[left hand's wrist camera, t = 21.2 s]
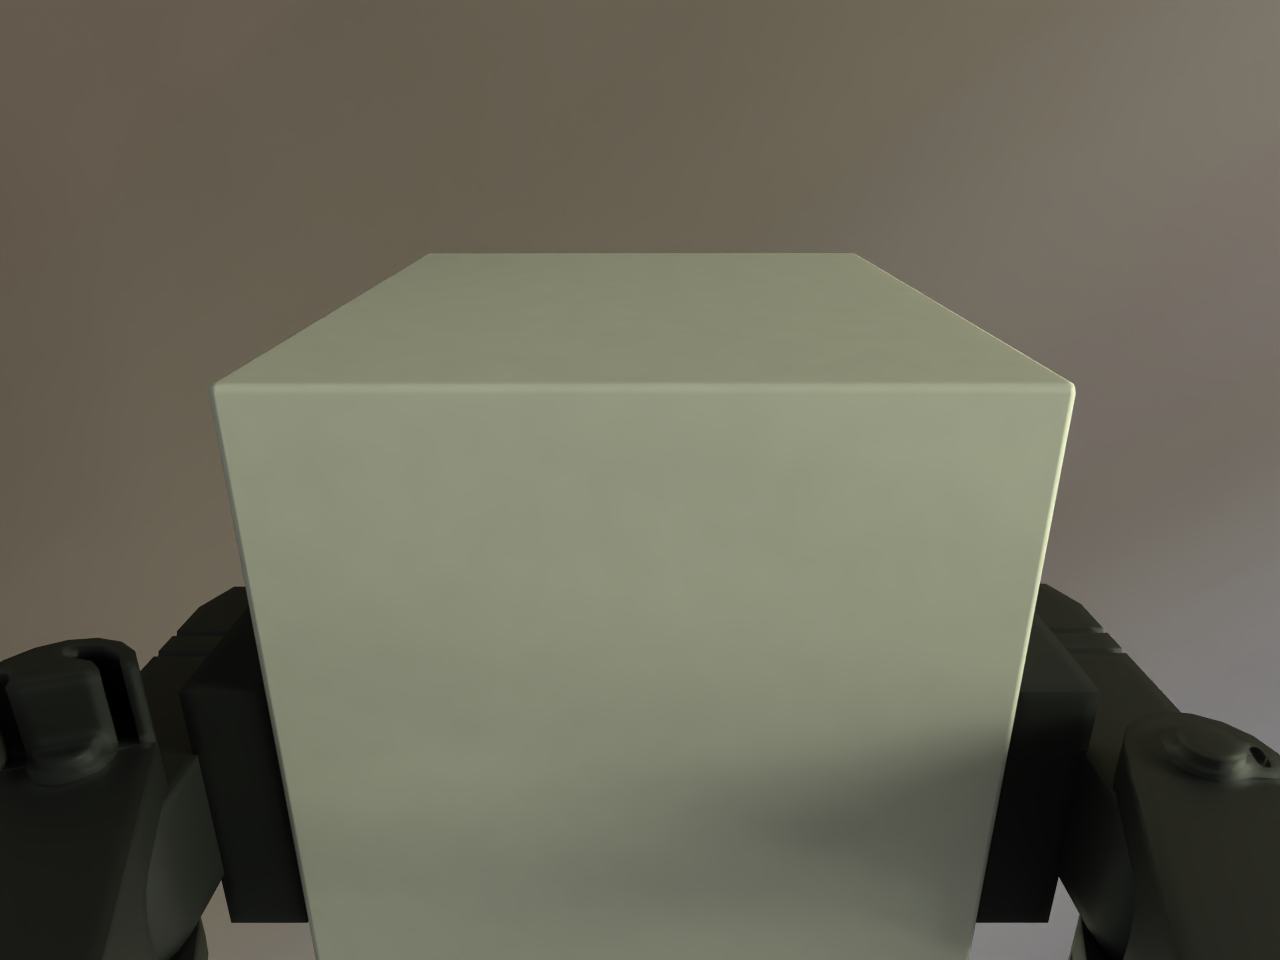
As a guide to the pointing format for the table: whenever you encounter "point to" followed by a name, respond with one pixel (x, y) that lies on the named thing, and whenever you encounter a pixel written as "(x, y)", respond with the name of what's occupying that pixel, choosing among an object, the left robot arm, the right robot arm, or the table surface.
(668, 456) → the block
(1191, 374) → the table surface
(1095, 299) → the table surface
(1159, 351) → the table surface
